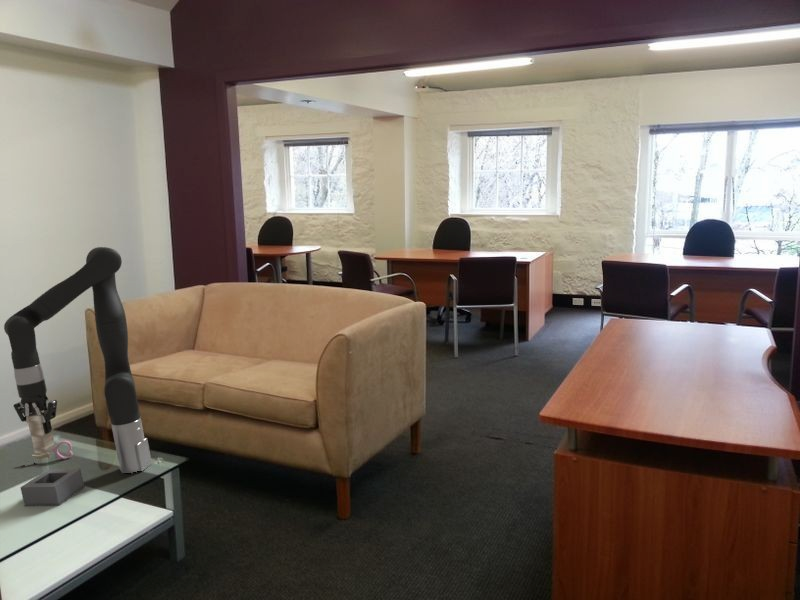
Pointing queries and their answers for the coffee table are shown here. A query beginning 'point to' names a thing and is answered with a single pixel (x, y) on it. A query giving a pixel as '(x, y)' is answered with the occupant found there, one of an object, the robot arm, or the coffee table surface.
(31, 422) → the wooden peg
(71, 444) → the decorative key
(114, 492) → the coffee table surface
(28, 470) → the coffee table surface
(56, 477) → the well block
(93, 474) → the coffee table surface
